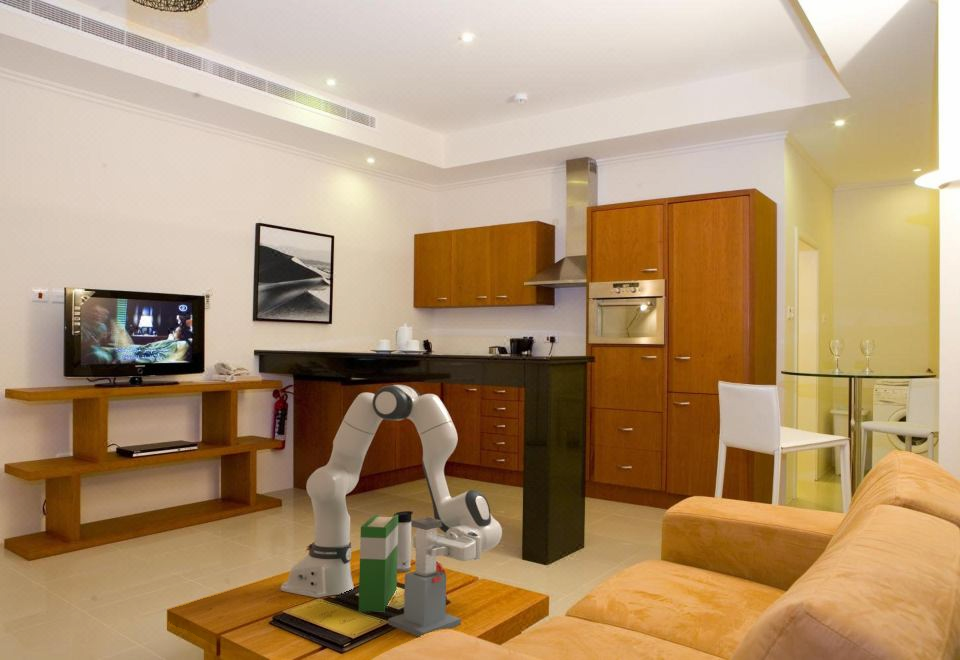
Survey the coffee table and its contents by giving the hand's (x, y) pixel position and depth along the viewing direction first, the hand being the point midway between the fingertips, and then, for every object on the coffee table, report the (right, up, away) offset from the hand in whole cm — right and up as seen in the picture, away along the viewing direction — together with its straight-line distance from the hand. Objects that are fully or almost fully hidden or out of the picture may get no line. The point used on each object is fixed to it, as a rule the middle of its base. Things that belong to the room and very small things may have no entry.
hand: (423, 550), depth 188 cm
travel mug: (-12, -23, +50) cm, 56 cm away
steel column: (0, -18, 0) cm, 18 cm away
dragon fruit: (0, -22, +34) cm, 40 cm away
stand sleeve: (0, -20, 0) cm, 20 cm away
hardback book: (-15, -21, +17) cm, 31 cm away
